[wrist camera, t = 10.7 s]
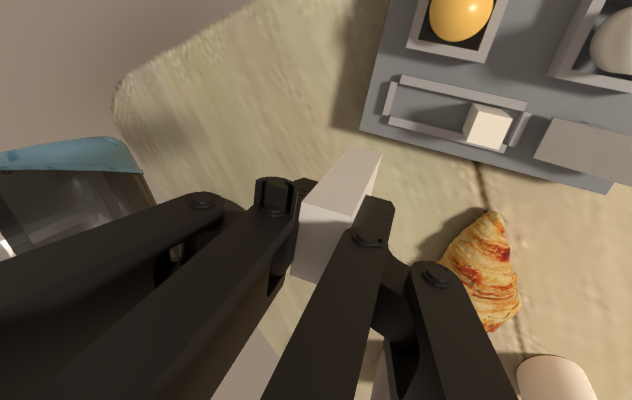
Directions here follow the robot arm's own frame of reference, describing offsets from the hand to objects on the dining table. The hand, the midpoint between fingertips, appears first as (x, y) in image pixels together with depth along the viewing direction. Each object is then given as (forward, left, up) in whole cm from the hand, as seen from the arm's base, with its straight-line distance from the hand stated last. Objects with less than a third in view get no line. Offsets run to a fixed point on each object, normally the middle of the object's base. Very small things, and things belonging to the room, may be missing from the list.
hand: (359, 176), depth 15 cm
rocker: (+16, +1, -18) cm, 25 cm away
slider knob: (+8, +1, -20) cm, 22 cm away
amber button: (+2, +9, -20) cm, 22 cm away
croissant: (+15, -19, -25) cm, 35 cm away
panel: (+8, +5, -25) cm, 26 cm away
